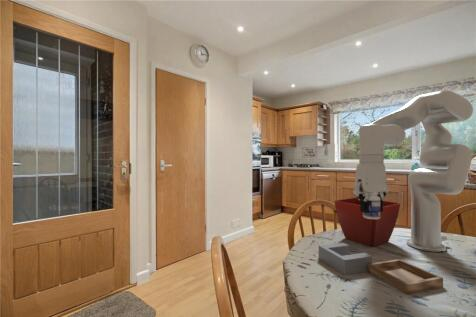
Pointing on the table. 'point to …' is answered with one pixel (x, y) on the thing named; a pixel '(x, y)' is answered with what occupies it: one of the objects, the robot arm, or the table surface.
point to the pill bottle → (373, 206)
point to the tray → (405, 276)
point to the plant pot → (366, 222)
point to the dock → (344, 258)
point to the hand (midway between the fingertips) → (371, 211)
